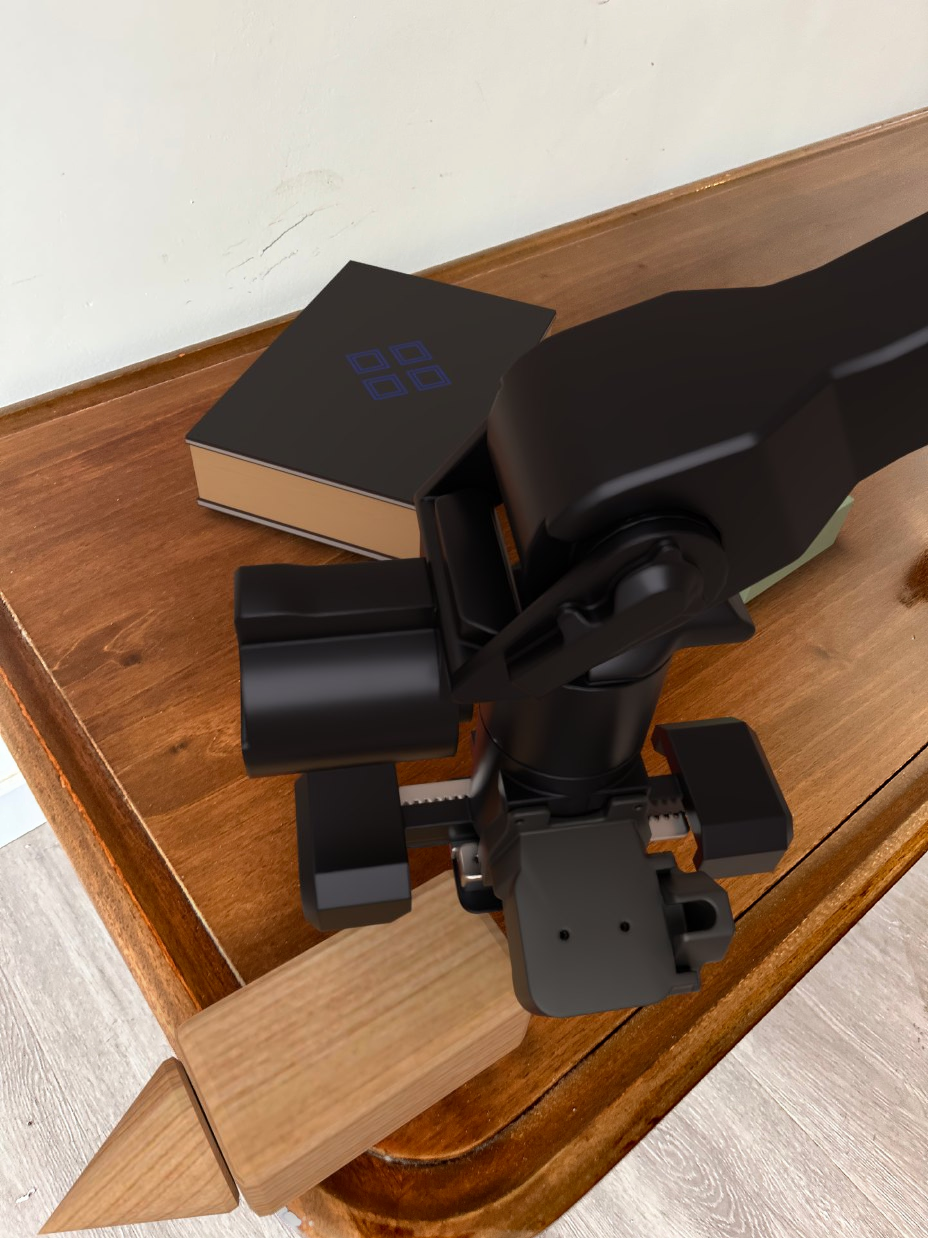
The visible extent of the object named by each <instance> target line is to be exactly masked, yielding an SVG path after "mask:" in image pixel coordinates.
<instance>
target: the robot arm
mask: <svg viewBox="0 0 928 1238" xmlns="http://www.w3.org/2000/svg"><path fill="white" fill-rule="evenodd" d="M500 386H501V388H500V389H499V391H498V393H497V396H496V398H495V401H494V403H493V406H492V409H491V411H490V413H489V414H488V415H487V416H486V417H485V418H484V420H483V421H482V422H481V423H480V424H479V425H478V426H477V427H476V428H475V429H474V430H473V431H472V432H471V433H470V435H469V436H468V437H467V438H466V439H465V440H464V441H463V442H462V443H461V444H460V445H459V446H458V447H457V448H456V450H455V451H454V452H453V453H452V454H451V455H450V456H449V457H448V458H447V459H446V460H445V461H444V462H443V463H442V465H441V466H440V467H439V468H438V469H437V470H436V471H435V472H434V473H433V474H432V475H431V476H430V477H429V478H428V480H427V481H426V482H425V483H424V484H423V485H422V486H421V487H420V488H419V489H418V490H417V491H416V493H415V494H414V503H415V509H416V514H417V519H418V525H419V530H420V554H419V557H417V558H405V559H392V560H369V561H355V562H343V563H342V562H341V563H330V564H318V565H317V564H316V565H315V564H313V565H311V564H310V565H306V564H297V563H295V564H294V563H287V562H284V563H283V562H281V563H279V562H278V563H277V562H276V563H263V564H262V563H261V564H251V565H241V566H239V567H237V568H236V569H235V570H234V571H233V626H234V630H235V635H236V640H237V645H238V660H239V676H240V678H239V680H240V682H239V683H240V689H239V690H240V693H239V694H240V697H239V699H240V749H241V756H242V759H243V764H244V768H245V772H246V775H247V777H248V778H249V779H250V780H251V779H252V780H253V779H261V778H270V777H279V776H281V777H282V776H288V775H290V776H291V775H297V776H296V777H295V779H294V784H293V786H294V787H293V788H294V806H295V807H294V808H295V824H296V825H295V827H296V844H297V864H298V865H297V867H298V883H299V894H300V902H301V908H302V912H303V918H304V921H305V922H306V923H307V924H309V925H310V926H311V927H313V928H314V929H316V930H317V931H319V932H320V933H326V932H334V931H342V930H344V929H349V928H357V927H364V926H372V925H379V924H386V923H391V922H393V921H395V920H397V919H398V918H400V917H402V916H404V915H406V914H407V913H409V912H411V911H412V894H411V891H412V884H411V871H410V862H409V861H410V859H409V854H408V850H414V849H424V848H430V847H439V846H447V845H448V850H449V856H450V862H451V867H452V869H453V874H454V880H455V886H456V892H457V897H458V899H459V902H460V904H461V906H462V907H463V909H464V910H466V911H467V912H469V913H472V914H482V913H490V914H491V913H496V912H497V913H498V912H503V919H504V926H505V934H506V937H507V940H508V947H509V954H510V961H511V968H512V981H513V988H514V992H515V996H516V998H517V1000H518V1002H519V1003H520V1005H521V1006H522V1007H523V1008H524V1009H525V1010H526V1011H527V1012H529V1013H531V1015H533V1016H536V1017H545V1018H554V1019H569V1018H575V1017H583V1016H588V1015H594V1014H601V1013H608V1012H615V1011H621V1010H627V1009H634V1008H635V1009H636V1008H640V1007H648V1006H653V1005H657V1004H659V1003H661V1002H663V1001H665V1000H666V999H667V998H668V997H673V996H679V995H687V994H693V993H699V992H701V990H702V978H701V970H702V968H703V967H704V965H706V964H711V963H718V962H722V961H723V960H724V958H725V956H726V955H727V952H728V950H729V949H730V948H729V947H730V945H731V944H732V940H733V938H734V936H735V933H736V931H737V928H736V923H735V919H734V915H733V910H732V906H731V902H730V898H729V893H728V891H727V890H726V889H725V888H724V887H722V885H720V884H719V883H718V882H717V881H716V880H722V879H730V878H736V877H737V878H738V877H744V876H750V875H751V876H753V875H758V874H759V875H760V874H766V873H767V874H768V873H773V872H774V871H775V870H776V869H777V867H778V865H779V863H780V862H781V860H782V859H783V857H784V856H785V854H786V852H787V851H788V849H789V848H790V846H791V843H792V842H793V840H794V837H795V836H794V835H795V833H794V818H793V817H794V816H793V814H792V812H791V809H790V807H789V805H788V802H787V799H786V798H785V796H784V793H783V791H782V789H781V787H780V783H779V782H778V780H777V777H776V776H775V773H774V771H773V768H772V766H771V764H770V761H769V759H768V757H767V754H766V752H765V750H764V748H763V746H762V743H761V741H760V739H759V737H758V734H757V732H756V731H755V730H754V729H753V728H752V727H751V726H750V725H749V724H748V723H747V722H746V721H744V720H742V719H739V718H736V717H734V716H724V717H723V716H722V717H714V718H705V719H695V720H686V721H677V722H669V723H659V724H654V728H653V730H652V733H651V736H650V739H649V740H650V743H651V746H652V749H653V751H654V752H656V753H658V754H659V755H661V756H662V757H664V758H665V759H666V762H667V765H668V768H669V770H670V773H669V774H668V773H667V774H660V775H651V776H650V775H649V774H648V770H647V767H646V765H645V762H644V759H643V756H642V751H643V749H644V748H643V747H644V746H645V745H644V744H645V742H646V739H647V736H648V733H649V729H650V726H651V723H652V721H653V718H654V715H655V713H656V709H657V706H658V703H659V700H660V698H661V694H662V691H663V688H664V685H665V682H666V679H667V676H668V674H669V671H670V668H671V665H672V662H673V660H674V656H675V653H676V652H678V651H681V650H683V649H684V650H685V649H688V648H689V649H690V648H699V647H708V646H709V647H711V646H721V645H730V644H731V645H732V644H740V643H745V642H747V641H750V640H751V639H752V638H753V637H754V636H755V634H756V625H755V622H754V621H753V619H752V617H751V615H750V612H749V609H747V607H746V603H745V604H744V602H743V600H742V598H741V596H740V594H739V593H740V592H742V591H743V590H745V589H747V588H749V587H750V586H752V585H754V584H756V583H758V582H759V581H761V580H763V579H765V578H766V577H768V576H770V575H772V574H774V573H775V572H777V571H779V570H781V569H782V568H784V567H786V566H788V565H790V564H791V563H793V562H794V561H796V560H797V559H799V558H800V557H801V556H802V555H803V554H804V553H805V552H806V550H807V549H808V548H809V546H810V545H811V544H812V543H813V541H814V540H815V539H816V537H817V536H818V535H819V533H820V532H821V531H822V529H823V528H824V527H825V525H826V524H827V523H828V521H829V520H830V519H831V518H832V516H833V515H834V514H835V512H836V511H837V510H838V508H839V507H840V506H841V504H842V503H843V502H844V500H845V499H846V498H847V496H848V495H849V496H850V494H851V492H853V490H854V489H855V487H856V486H857V485H858V484H859V483H860V482H862V481H864V480H865V479H867V478H869V477H871V476H872V475H874V474H875V473H877V472H879V471H881V470H883V469H884V468H886V467H888V466H889V465H891V464H893V463H895V462H897V461H899V460H900V459H902V458H903V457H905V456H907V455H910V454H912V453H914V452H916V451H918V450H921V449H923V448H925V447H928V210H927V211H926V212H925V211H924V213H922V214H920V215H918V216H916V217H913V218H911V219H910V220H908V221H906V222H903V223H902V224H900V225H899V226H896V227H894V228H893V229H891V230H888V231H887V232H885V233H883V234H880V235H878V236H877V237H875V238H873V239H870V240H869V241H867V242H865V243H864V244H861V245H860V246H858V247H856V248H854V249H852V250H850V251H848V252H846V253H844V254H842V255H840V256H838V257H836V258H834V259H832V260H830V261H829V262H825V263H824V264H823V265H820V266H818V267H816V268H813V269H811V270H807V271H805V272H802V273H799V274H797V275H795V276H794V275H793V276H791V277H788V278H785V279H783V280H780V281H778V282H775V283H771V284H766V285H763V286H760V285H759V286H743V287H724V288H703V289H683V290H682V289H681V290H672V291H668V292H665V293H662V294H659V295H657V296H654V297H651V298H648V299H646V300H643V301H640V302H638V303H635V304H632V305H629V306H626V307H624V308H620V309H618V310H615V311H612V312H611V313H607V314H604V315H601V316H600V317H596V318H593V319H590V320H587V321H585V322H582V323H579V324H576V325H574V326H571V327H568V328H565V329H563V330H560V331H558V332H556V333H554V334H551V336H550V337H547V338H545V339H544V340H542V341H541V342H540V343H538V344H537V345H535V346H534V347H533V348H531V349H530V350H528V351H527V352H526V353H524V354H523V355H521V356H520V357H519V358H517V359H516V360H515V361H514V363H513V364H512V365H511V366H510V367H509V368H508V369H507V370H506V372H505V373H504V374H503V375H502V377H501V379H500ZM501 505H503V507H504V511H505V514H506V518H507V521H508V524H509V528H510V532H511V535H512V539H513V542H514V546H515V550H516V553H517V557H518V560H517V561H515V562H514V563H513V564H511V560H510V556H509V553H508V549H507V545H506V542H505V537H504V533H503V530H502V526H501V523H500V519H499V516H498V512H497V507H499V506H501ZM475 704H478V705H477V714H476V715H477V716H476V724H475V725H476V726H475V729H474V730H470V738H469V749H470V755H471V760H472V766H471V775H469V776H460V777H453V778H450V779H447V780H445V781H436V782H428V783H419V784H411V785H410V784H409V785H402V786H399V778H398V771H397V764H400V763H408V762H409V763H410V762H418V761H427V760H435V759H445V758H454V757H456V755H457V753H458V748H459V742H460V723H467V722H469V723H470V722H471V721H472V720H473V716H474V709H475ZM690 830H691V833H692V835H693V838H694V841H695V844H696V847H697V849H696V851H695V852H694V855H693V857H692V858H691V860H692V863H693V866H694V869H695V871H689V872H685V871H684V870H682V869H681V868H680V867H679V866H678V863H677V859H676V856H675V854H674V852H672V851H671V850H666V851H665V850H664V851H658V852H650V853H649V852H648V847H649V844H650V843H655V842H660V841H661V842H662V841H669V840H676V839H684V838H686V837H687V836H688V835H689V833H690Z"/></svg>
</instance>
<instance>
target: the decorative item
mask: <svg viewBox="0 0 928 1238" xmlns="http://www.w3.org/2000/svg"><path fill="white" fill-rule="evenodd" d="M411 894H412V911H411V912H409V913H407V914H406V915H404V916H402V917H400V918H398V919H397V920H395V921H393V922H391V923H386V924H379V925H372V926H364V927H357V928H349V929H342V930H339V931H338V932H337V933H335V934H333V935H331V936H329V937H328V938H326V939H325V940H323V941H321V942H319V943H317V944H316V945H314V946H312V947H311V948H308V949H307V950H304V952H302V953H300V954H298V955H297V956H294V957H293V958H290V960H288V961H286V962H284V963H283V964H281V965H279V966H278V967H276V968H273V969H272V970H270V971H268V972H267V973H264V974H263V975H262V976H260V977H257V978H256V979H255V980H253V981H251V982H249V983H248V984H246V985H244V986H243V987H240V988H239V989H237V990H235V991H234V992H232V993H230V994H228V995H226V996H225V997H223V998H221V999H220V1000H218V1001H216V1002H215V1003H213V1004H211V1005H209V1006H208V1007H206V1008H204V1009H202V1010H200V1011H199V1012H197V1013H195V1014H194V1015H192V1016H190V1017H189V1018H187V1019H185V1020H184V1021H183V1022H182V1023H181V1024H180V1025H179V1026H178V1027H176V1030H175V1042H174V1044H175V1047H176V1050H177V1051H178V1054H179V1056H180V1058H181V1060H179V1059H178V1058H177V1057H175V1056H171V1057H169V1058H167V1059H164V1060H163V1061H162V1062H161V1063H160V1065H159V1066H158V1068H157V1069H156V1070H155V1072H154V1073H153V1075H152V1076H151V1077H150V1079H149V1080H148V1081H147V1083H146V1084H145V1085H144V1087H143V1088H142V1089H141V1091H140V1092H139V1093H138V1095H137V1097H135V1099H134V1100H133V1102H132V1103H131V1105H130V1106H129V1107H128V1108H127V1110H126V1111H125V1113H124V1115H123V1116H122V1117H121V1118H120V1120H119V1121H118V1122H117V1124H116V1125H115V1127H114V1128H113V1129H112V1131H111V1132H110V1134H109V1135H108V1136H107V1138H106V1139H105V1141H104V1142H103V1143H102V1145H101V1146H100V1147H99V1149H98V1150H97V1151H96V1153H94V1155H93V1157H92V1158H91V1160H90V1161H89V1162H88V1164H87V1165H86V1167H85V1168H84V1169H83V1171H82V1172H81V1173H80V1175H79V1176H78V1177H77V1179H76V1180H75V1181H74V1182H73V1184H72V1185H71V1187H70V1188H69V1190H68V1191H67V1193H66V1194H65V1195H64V1197H63V1198H62V1200H61V1201H60V1202H59V1204H58V1205H57V1206H56V1207H55V1209H54V1210H53V1212H52V1213H51V1214H50V1216H49V1217H48V1219H47V1220H46V1221H45V1222H44V1224H43V1226H42V1227H41V1228H40V1230H39V1231H38V1232H37V1234H36V1236H42V1235H48V1234H59V1233H66V1232H75V1231H85V1230H92V1229H102V1228H111V1227H119V1226H129V1225H136V1224H146V1223H147V1224H148V1223H155V1222H162V1221H173V1220H180V1219H191V1218H198V1217H209V1216H215V1215H216V1216H217V1215H225V1214H230V1213H232V1212H233V1211H234V1210H236V1209H237V1208H238V1207H240V1195H241V1194H242V1197H243V1198H244V1200H245V1202H246V1204H247V1206H248V1208H249V1209H250V1210H251V1212H253V1213H254V1214H255V1215H256V1216H258V1218H263V1217H269V1216H273V1215H275V1214H276V1213H278V1212H279V1211H281V1210H282V1209H283V1208H284V1207H287V1206H288V1205H289V1204H290V1203H292V1202H294V1201H295V1200H297V1199H298V1198H299V1197H301V1196H302V1195H304V1194H305V1193H307V1192H308V1191H309V1190H311V1189H312V1188H314V1187H315V1186H317V1185H318V1184H320V1183H321V1182H322V1181H324V1180H326V1179H327V1178H329V1177H330V1176H331V1175H333V1174H334V1173H336V1172H337V1171H339V1170H340V1169H341V1168H343V1167H344V1166H346V1165H348V1164H349V1163H350V1162H351V1161H353V1160H354V1159H356V1158H358V1157H359V1156H361V1155H362V1154H363V1153H365V1152H366V1151H368V1150H369V1149H371V1148H372V1147H374V1146H375V1145H377V1144H378V1143H379V1142H381V1141H382V1140H384V1139H385V1138H387V1137H388V1136H389V1135H391V1134H393V1133H394V1132H396V1131H397V1130H398V1129H400V1128H401V1127H402V1126H404V1125H405V1124H407V1123H409V1122H410V1121H411V1120H413V1119H414V1118H416V1117H417V1116H418V1115H420V1114H422V1113H423V1112H425V1111H426V1110H427V1109H429V1108H430V1107H432V1106H433V1105H435V1104H436V1103H438V1102H440V1101H441V1100H442V1099H444V1098H445V1097H447V1096H448V1095H450V1094H451V1093H452V1092H453V1091H455V1090H457V1089H458V1088H460V1087H461V1086H463V1085H464V1084H465V1083H467V1082H468V1081H470V1080H471V1079H473V1078H475V1076H477V1075H479V1074H480V1073H481V1072H483V1071H485V1070H486V1069H488V1068H489V1067H490V1066H491V1065H494V1063H496V1062H497V1061H499V1060H500V1059H502V1058H503V1057H505V1056H507V1054H509V1053H511V1052H513V1050H515V1049H517V1048H518V1047H519V1046H520V1045H521V1043H522V1042H523V1040H524V1038H525V1037H526V1034H527V1030H528V1027H529V1024H530V1021H531V1017H532V1014H531V1013H529V1012H527V1011H526V1010H525V1009H524V1008H523V1007H522V1006H521V1005H520V1003H519V1002H518V1000H517V998H516V996H515V992H514V988H513V981H512V968H511V961H510V954H509V947H508V940H507V935H506V933H504V931H503V930H502V928H501V927H500V926H499V924H498V923H497V922H496V920H495V918H494V917H493V916H492V914H491V912H490V913H482V914H472V913H469V912H467V911H466V910H464V909H463V907H462V906H461V904H460V902H459V899H458V897H457V892H456V886H455V880H454V874H453V868H452V869H447V870H445V871H443V872H442V873H440V874H438V875H436V876H434V877H433V878H430V879H429V880H428V881H426V882H424V883H422V884H421V885H419V886H417V887H415V888H413V889H411ZM240 1193H241V1194H240Z"/></svg>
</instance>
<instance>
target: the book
mask: <svg viewBox="0 0 928 1238" xmlns="http://www.w3.org/2000/svg"><path fill="white" fill-rule="evenodd" d="M556 315H557V309H554V308H549V307H545V306H540V305H537V304H533V303H529V302H524V301H519V300H517V299H512V298H509V297H508V298H507V297H504V296H500V295H497V294H492V293H488V292H484V291H480V290H475V289H472V288H467V287H463V286H458V285H455V284H450V283H446V282H443V281H439V280H434V279H430V278H426V277H423V276H418V275H414V274H409V273H406V272H402V271H397V270H393V269H389V268H386V267H381V266H377V265H373V264H369V263H365V262H364V263H363V262H360V261H357V260H353V259H349V260H348V262H347V263H346V264H345V265H343V267H342V268H340V270H339V271H338V272H337V273H336V275H334V276H333V277H332V279H330V280H329V282H328V283H327V284H326V285H325V286H324V287H323V288H322V289H321V290H320V291H319V292H318V293H317V295H315V297H314V298H313V299H312V300H311V301H310V302H309V303H308V304H307V305H306V306H305V307H304V308H303V310H302V311H300V312H299V314H297V316H296V317H295V318H294V319H293V320H292V321H291V322H290V323H289V324H288V325H287V326H286V328H285V329H284V330H283V331H282V332H281V333H280V334H279V335H278V336H277V337H276V338H275V339H274V340H273V342H271V343H270V344H269V346H268V347H267V348H266V349H265V350H264V351H263V352H262V353H260V355H259V356H258V357H257V358H256V359H255V360H254V361H253V362H252V363H251V364H250V366H249V367H248V368H247V369H246V370H245V371H244V372H243V373H242V374H241V376H239V378H237V380H235V382H234V383H233V384H232V385H231V386H230V387H229V388H228V389H227V390H226V391H225V392H224V394H223V395H222V396H221V397H220V398H218V400H217V401H216V402H215V403H214V404H213V405H212V406H211V407H210V409H208V410H207V411H206V413H204V415H203V416H202V417H201V418H200V419H199V420H198V421H197V422H196V423H195V424H194V425H193V427H192V428H191V429H190V430H188V432H186V433H185V435H184V440H185V445H189V446H188V447H189V452H190V456H191V461H192V467H193V472H194V477H195V483H196V488H197V493H198V497H197V498H196V501H197V506H200V507H203V508H206V509H209V510H212V511H215V512H218V513H222V514H224V515H229V516H232V517H235V518H237V519H241V520H244V521H248V522H251V523H255V524H258V525H262V526H265V527H268V528H271V529H275V530H278V531H281V532H284V533H287V534H291V535H294V536H296V537H300V538H304V539H307V540H310V541H313V542H317V543H320V544H322V545H323V544H324V545H326V546H330V547H333V548H336V549H340V550H343V551H346V552H349V553H353V554H356V555H359V556H363V557H366V558H368V559H372V560H374V561H379V560H392V559H405V558H417V557H419V554H420V530H419V525H418V519H417V514H416V509H415V503H414V494H415V493H416V491H417V490H418V489H419V488H420V487H421V486H422V485H423V484H424V483H425V482H426V481H427V480H428V478H429V477H430V476H431V475H432V474H433V473H434V472H435V471H436V470H437V469H438V468H439V467H440V466H441V465H442V463H443V462H444V461H445V460H446V459H447V458H448V457H449V456H450V455H451V454H452V453H453V452H454V451H455V450H456V448H457V447H458V446H459V445H460V444H461V443H462V442H463V441H464V440H465V439H466V438H467V437H468V436H469V435H470V433H471V432H472V431H473V430H474V429H475V428H476V427H477V426H478V425H479V424H480V423H481V422H482V421H483V420H484V418H485V417H486V416H487V415H488V414H489V413H490V411H491V409H492V406H493V403H494V401H495V398H496V396H497V393H498V391H499V389H500V388H501V386H500V379H501V377H502V375H503V374H504V373H505V372H506V370H507V369H508V368H509V367H510V366H511V365H512V364H513V363H514V361H515V360H516V359H517V358H519V357H520V356H521V355H523V354H524V353H526V352H527V351H528V350H530V349H531V348H533V347H534V346H535V345H537V344H538V343H540V342H541V341H542V340H544V339H545V338H547V337H550V336H552V328H553V323H554V322H555V320H556V319H557V316H556Z"/></svg>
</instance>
